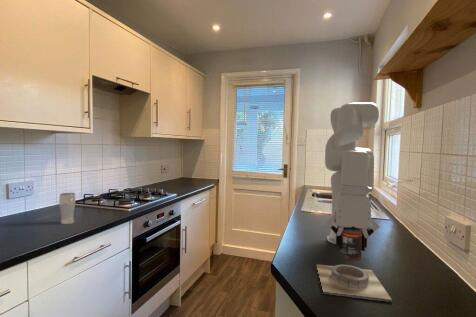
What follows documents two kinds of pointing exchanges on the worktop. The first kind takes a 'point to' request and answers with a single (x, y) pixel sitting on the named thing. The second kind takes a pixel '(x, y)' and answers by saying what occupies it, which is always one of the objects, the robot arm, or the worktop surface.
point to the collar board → (351, 281)
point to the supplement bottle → (351, 244)
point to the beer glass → (67, 207)
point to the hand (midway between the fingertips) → (350, 248)
